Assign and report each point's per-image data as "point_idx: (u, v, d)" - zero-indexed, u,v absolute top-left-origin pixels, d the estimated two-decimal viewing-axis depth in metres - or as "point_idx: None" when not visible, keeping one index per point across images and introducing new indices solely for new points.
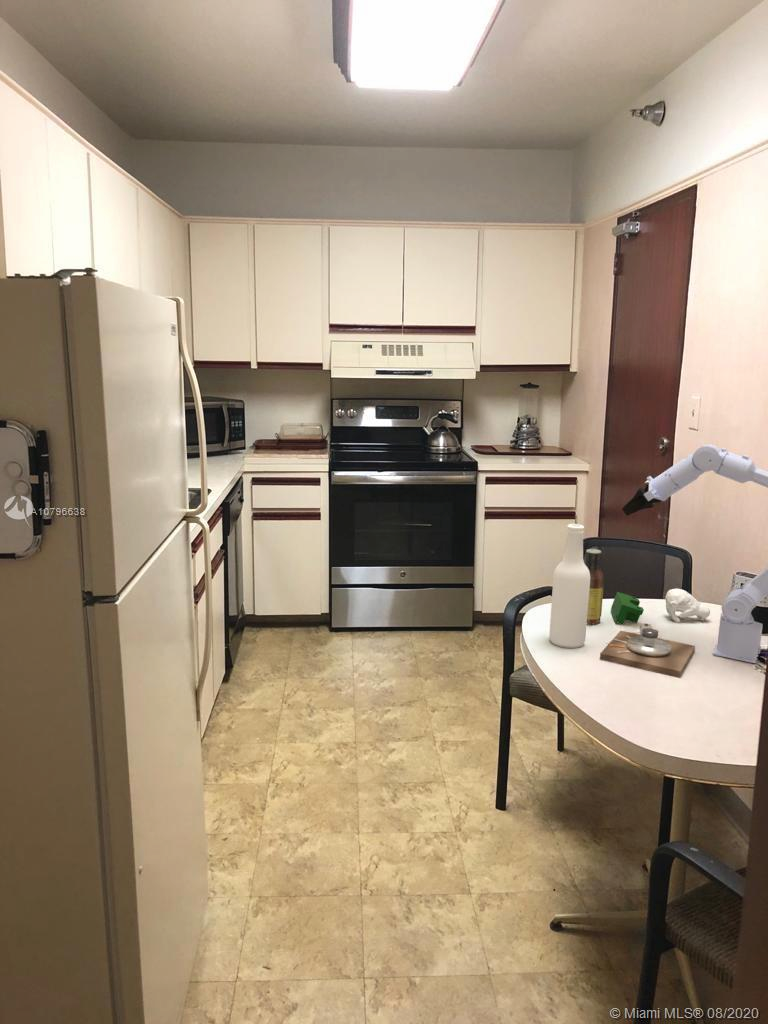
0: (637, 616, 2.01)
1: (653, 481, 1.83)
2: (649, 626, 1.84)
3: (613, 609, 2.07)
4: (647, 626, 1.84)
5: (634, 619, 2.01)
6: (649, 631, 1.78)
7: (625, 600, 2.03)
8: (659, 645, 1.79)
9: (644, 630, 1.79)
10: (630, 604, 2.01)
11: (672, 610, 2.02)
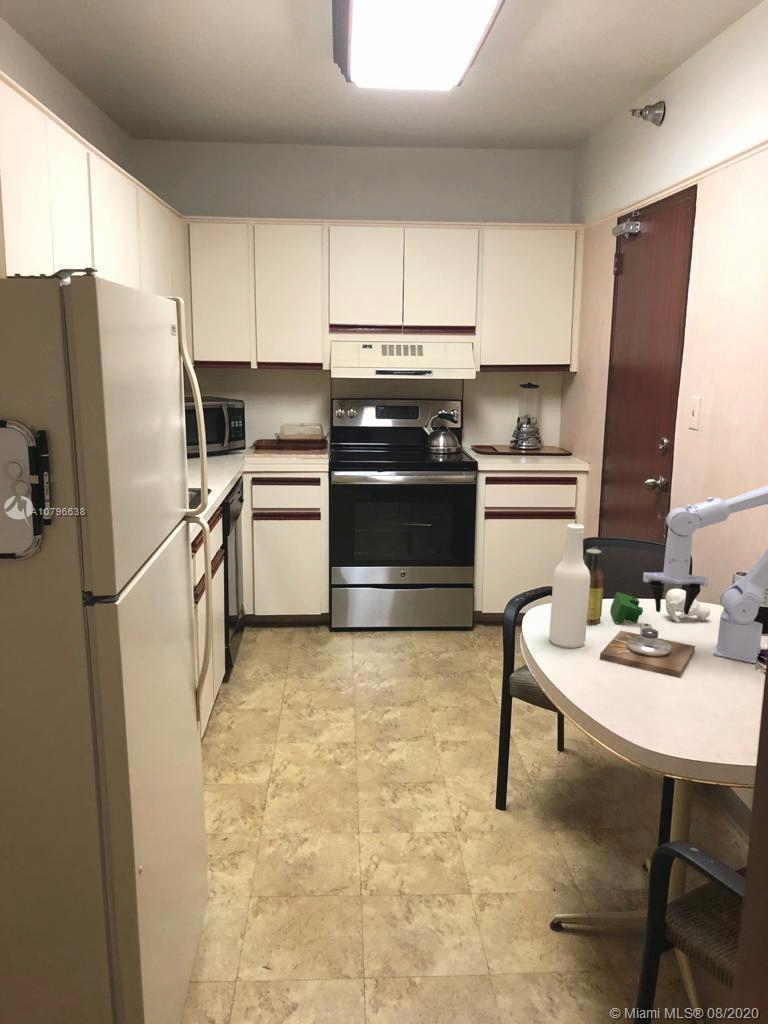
0: (636, 616, 2.01)
1: (684, 577, 1.78)
2: (649, 626, 1.84)
3: (613, 609, 2.07)
4: (647, 626, 1.84)
5: (634, 619, 2.01)
6: (649, 631, 1.78)
7: (625, 600, 2.03)
8: (659, 645, 1.79)
9: (644, 630, 1.79)
10: (630, 604, 2.01)
11: (672, 610, 2.02)
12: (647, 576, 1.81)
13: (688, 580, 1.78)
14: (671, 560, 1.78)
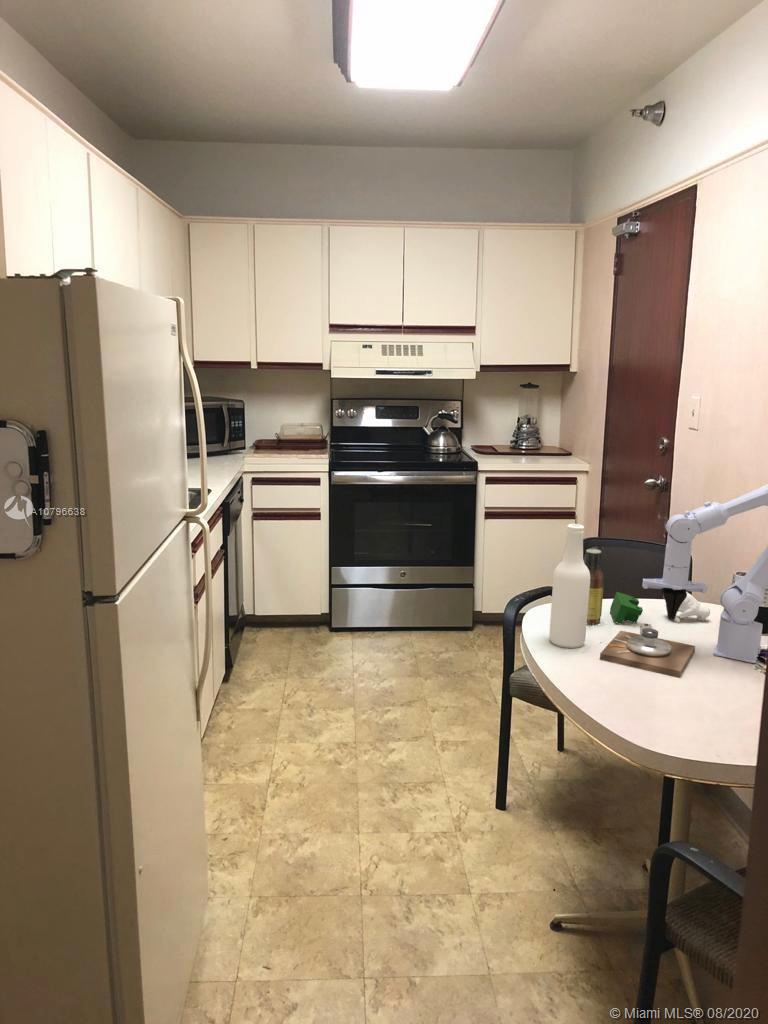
0: (636, 616, 2.01)
1: (683, 584, 1.78)
2: (649, 626, 1.84)
3: (612, 609, 2.07)
4: (647, 626, 1.84)
5: (633, 619, 2.02)
6: (649, 631, 1.78)
7: (624, 600, 2.03)
8: (659, 645, 1.79)
9: (644, 630, 1.79)
10: (629, 604, 2.01)
11: None
12: (646, 582, 1.81)
13: (687, 587, 1.78)
14: (670, 566, 1.78)
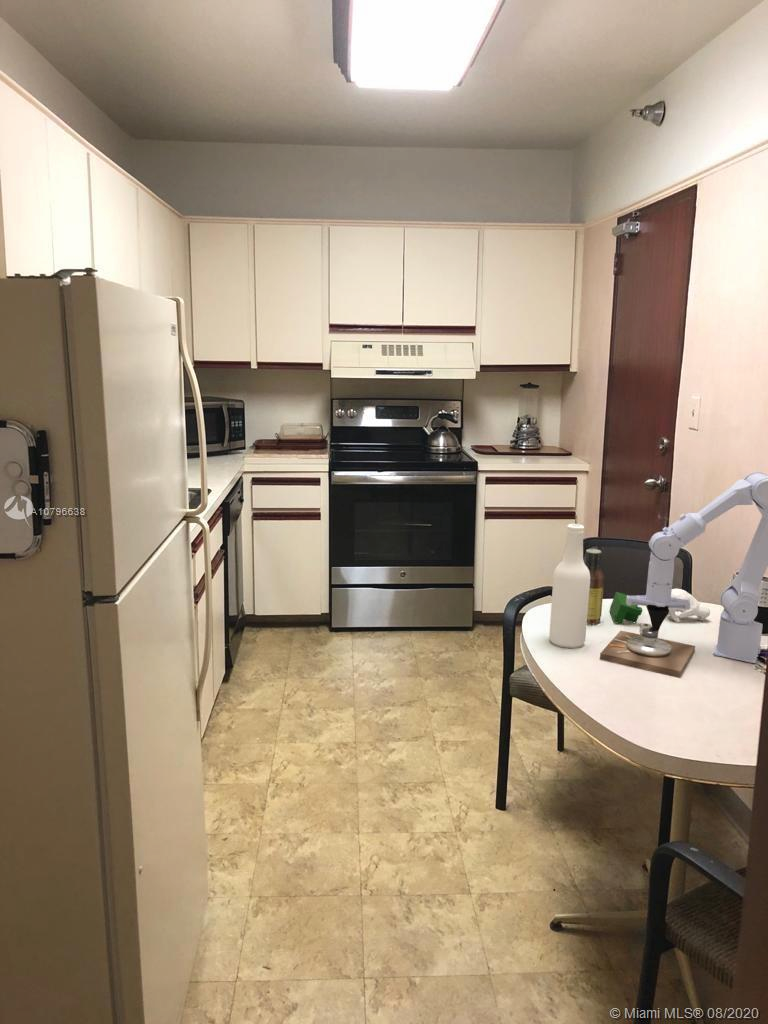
0: (636, 616, 2.01)
1: (666, 600, 1.80)
2: (649, 626, 1.84)
3: (612, 609, 2.07)
4: (647, 626, 1.84)
5: (633, 619, 2.02)
6: (649, 631, 1.78)
7: (624, 600, 2.03)
8: (659, 645, 1.79)
9: (644, 630, 1.79)
10: None
11: (672, 610, 2.02)
12: (630, 599, 1.83)
13: (670, 603, 1.80)
14: (654, 584, 1.80)
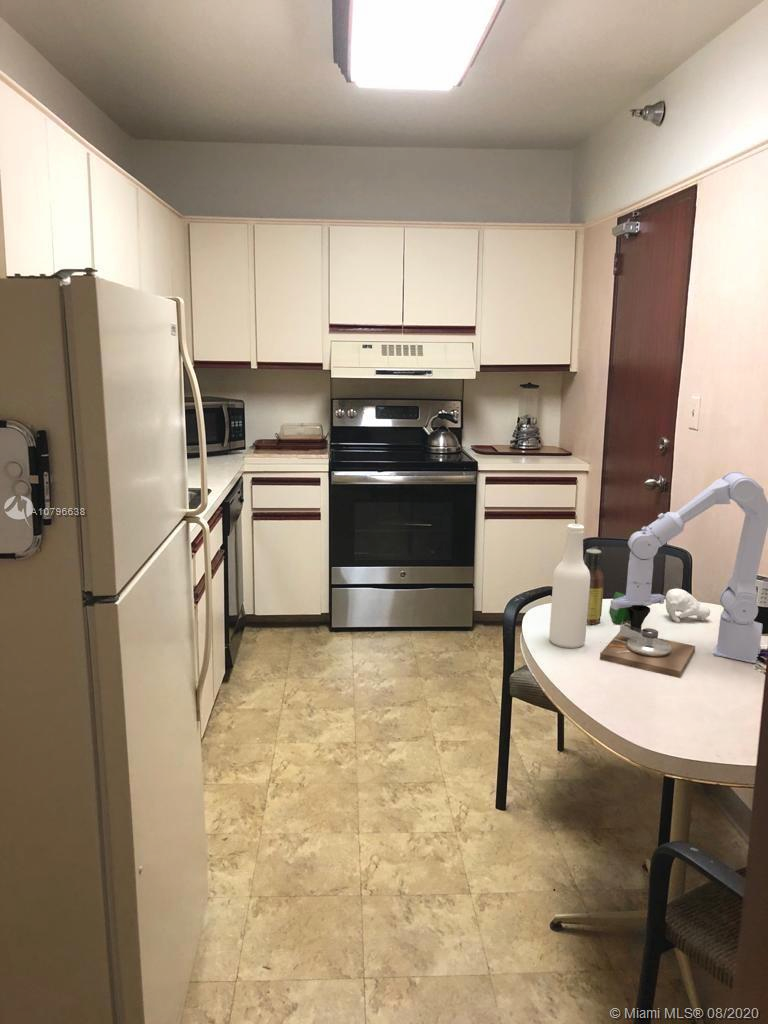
0: None
1: (649, 598, 1.81)
2: (632, 626, 1.84)
3: (612, 609, 2.07)
4: (631, 627, 1.84)
5: None
6: (651, 631, 1.78)
7: None
8: (656, 642, 1.80)
9: (646, 631, 1.78)
10: None
11: (672, 610, 2.02)
12: (618, 603, 1.80)
13: (652, 600, 1.82)
14: (639, 584, 1.80)
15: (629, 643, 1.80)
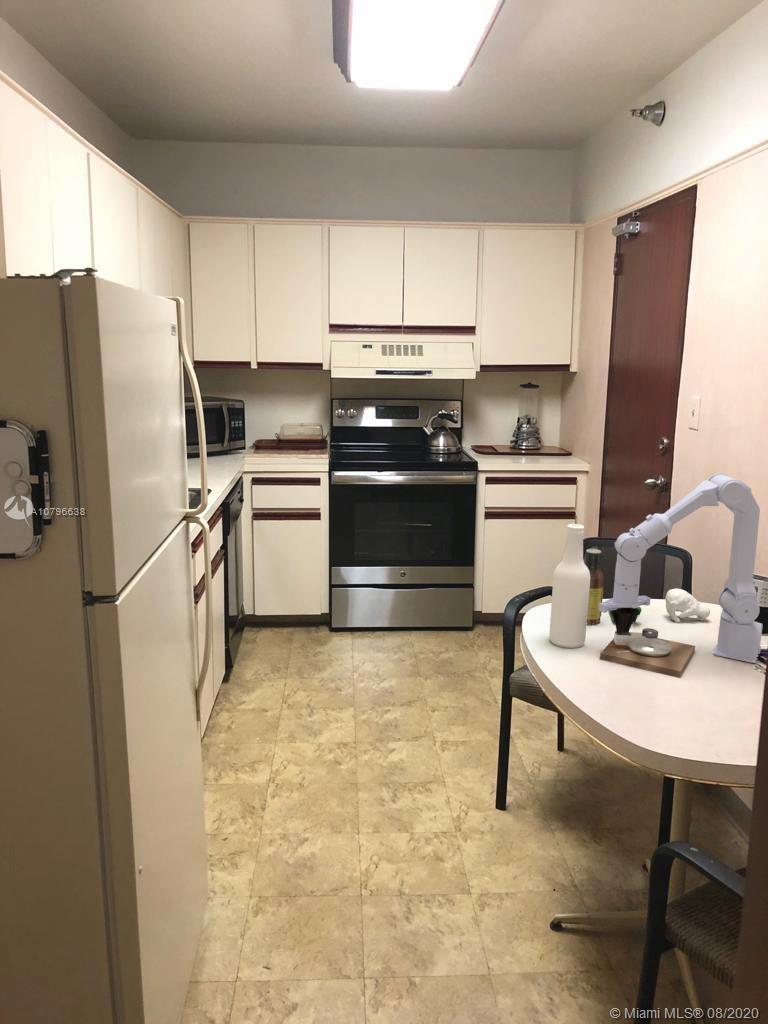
0: None
1: (637, 600, 1.80)
2: (623, 632, 1.80)
3: None
4: (625, 633, 1.79)
5: None
6: (652, 631, 1.78)
7: None
8: None
9: (651, 633, 1.77)
10: None
11: (672, 610, 2.02)
12: (606, 606, 1.78)
13: (640, 602, 1.80)
14: (628, 586, 1.78)
15: (641, 649, 1.76)
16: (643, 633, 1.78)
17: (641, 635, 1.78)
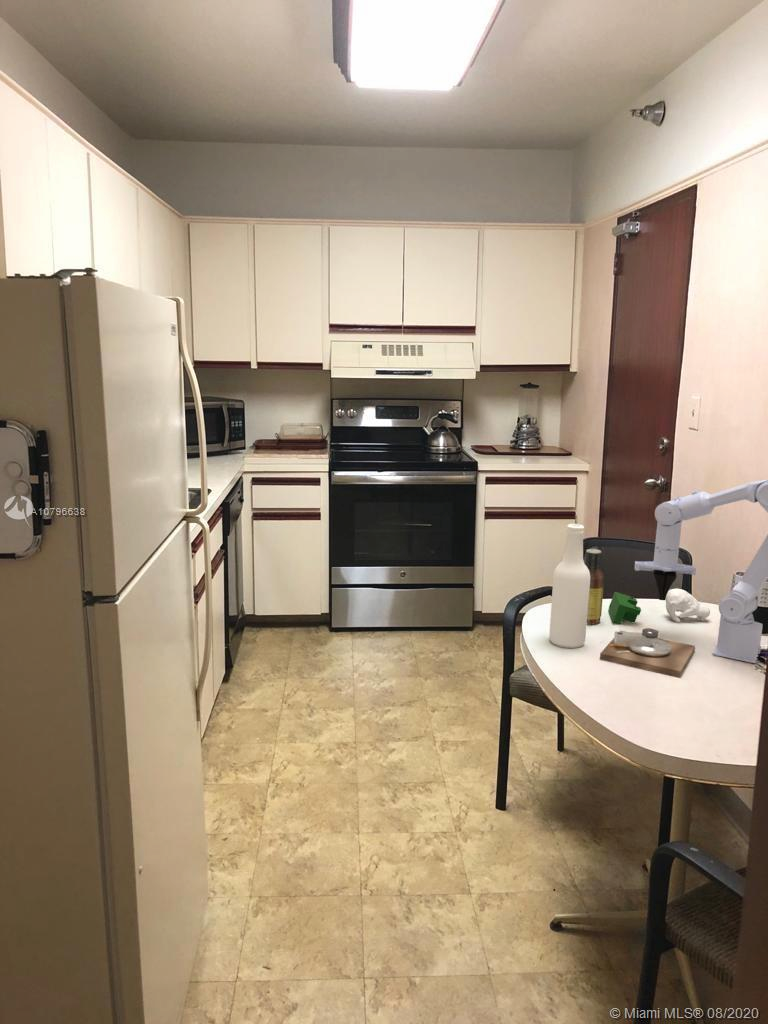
0: (635, 616, 2.01)
1: (673, 566, 1.88)
2: (623, 632, 1.80)
3: (611, 609, 2.07)
4: (625, 633, 1.79)
5: (632, 619, 2.02)
6: (652, 631, 1.78)
7: (623, 600, 2.03)
8: None
9: (651, 633, 1.77)
10: (628, 604, 2.01)
11: (672, 610, 2.02)
12: (638, 565, 1.91)
13: (677, 568, 1.88)
14: (660, 549, 1.88)
15: (641, 649, 1.76)
16: (643, 633, 1.78)
17: (641, 635, 1.78)
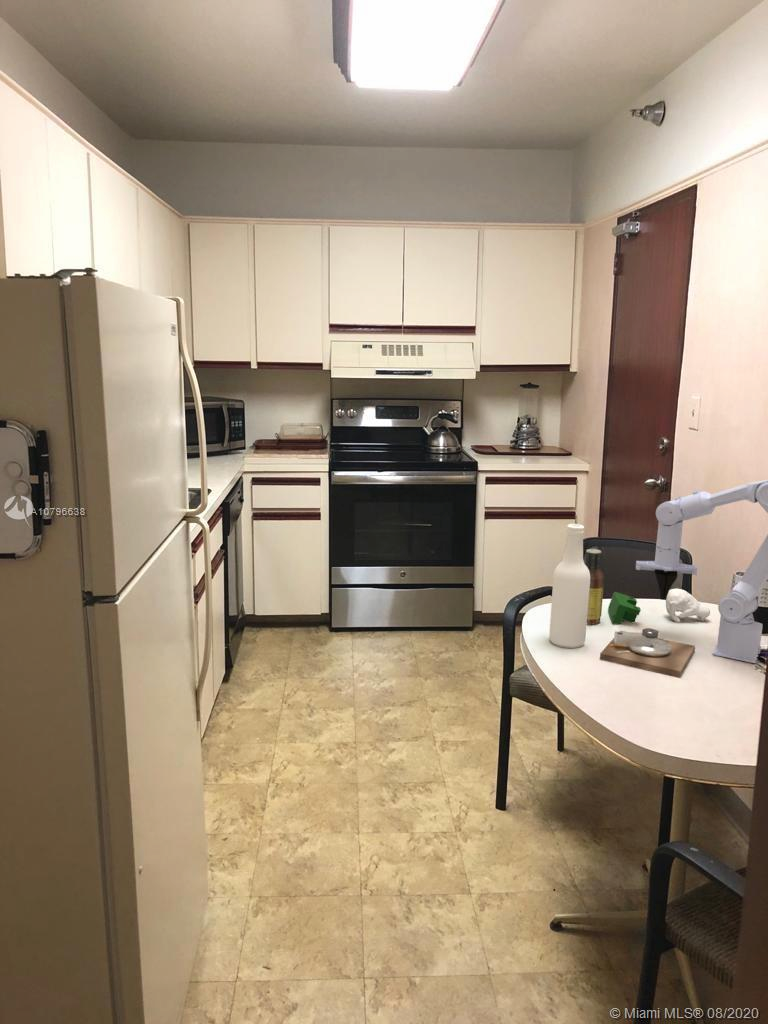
0: (634, 616, 2.01)
1: (674, 565, 1.88)
2: (623, 632, 1.80)
3: (610, 609, 2.07)
4: (625, 633, 1.79)
5: (631, 619, 2.02)
6: (652, 631, 1.78)
7: (622, 600, 2.03)
8: None
9: (651, 633, 1.77)
10: (627, 604, 2.01)
11: (672, 610, 2.02)
12: (639, 564, 1.91)
13: (678, 568, 1.88)
14: (661, 549, 1.88)
15: (641, 649, 1.76)
16: (643, 633, 1.78)
17: (641, 635, 1.78)
